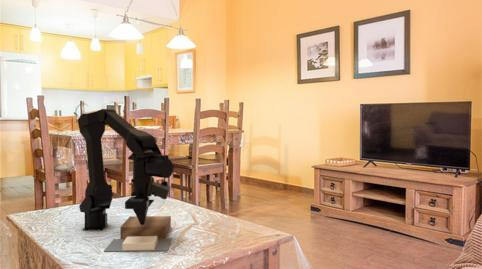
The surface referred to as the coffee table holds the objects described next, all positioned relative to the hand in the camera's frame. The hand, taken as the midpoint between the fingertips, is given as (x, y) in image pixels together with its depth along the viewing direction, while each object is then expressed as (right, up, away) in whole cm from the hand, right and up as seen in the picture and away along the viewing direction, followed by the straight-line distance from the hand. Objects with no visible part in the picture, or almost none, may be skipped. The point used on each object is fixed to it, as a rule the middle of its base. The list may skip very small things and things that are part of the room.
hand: (142, 224), depth 113 cm
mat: (0, -5, -5) cm, 7 cm away
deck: (0, -5, +6) cm, 8 cm away
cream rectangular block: (+1, -3, -6) cm, 7 cm away
